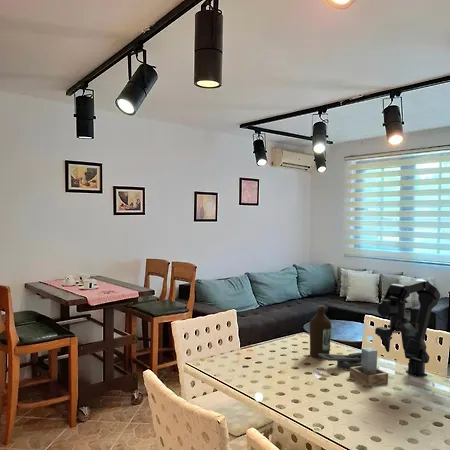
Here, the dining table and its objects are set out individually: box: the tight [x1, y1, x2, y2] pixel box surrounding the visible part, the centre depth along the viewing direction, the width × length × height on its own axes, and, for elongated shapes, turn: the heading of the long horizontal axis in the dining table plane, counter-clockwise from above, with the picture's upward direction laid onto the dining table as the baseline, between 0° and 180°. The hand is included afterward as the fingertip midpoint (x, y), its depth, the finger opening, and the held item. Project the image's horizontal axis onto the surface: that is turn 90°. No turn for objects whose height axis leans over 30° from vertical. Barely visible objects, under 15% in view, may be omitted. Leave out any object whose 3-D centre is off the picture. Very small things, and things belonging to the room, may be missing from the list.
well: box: [349, 366, 389, 386], centre depth 180 cm, size 11×11×4 cm
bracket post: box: [360, 347, 378, 375], centre depth 180 cm, size 7×7×12 cm
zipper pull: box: [318, 352, 362, 371], centre depth 195 cm, size 9×7×25 cm
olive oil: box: [309, 304, 332, 360], centre depth 210 cm, size 11×11×25 cm
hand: (396, 350), depth 179 cm, fingers open, 9 cm apart
